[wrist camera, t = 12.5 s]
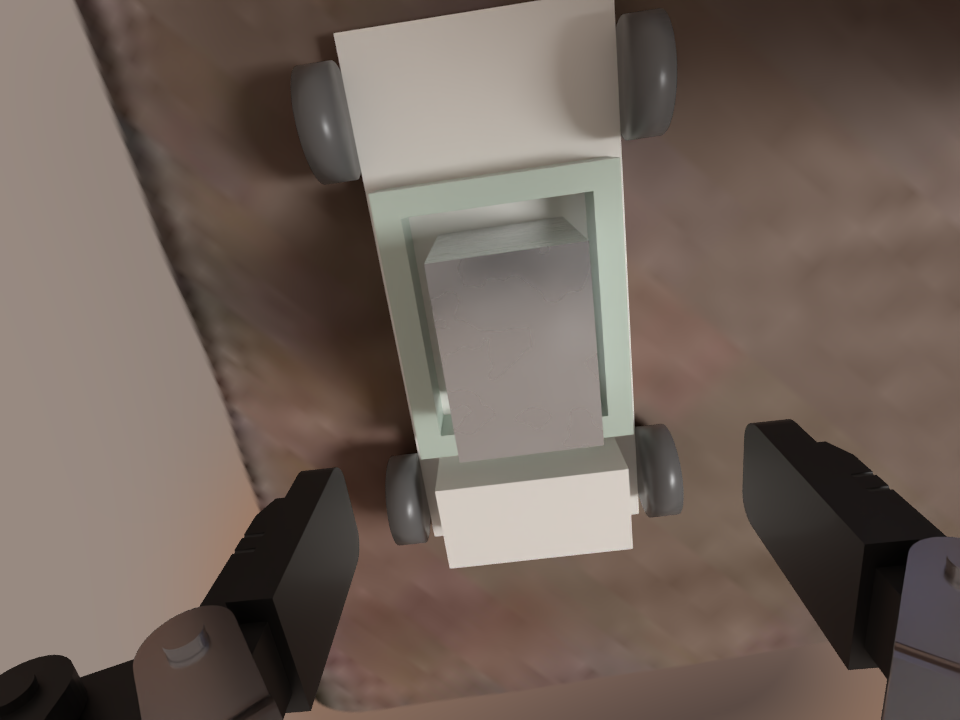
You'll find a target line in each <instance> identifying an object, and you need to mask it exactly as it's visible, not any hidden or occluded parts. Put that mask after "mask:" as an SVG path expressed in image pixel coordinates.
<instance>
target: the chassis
mask: <svg viewBox="0 0 960 720" xmlns="http://www.w3.org/2000/svg"><path fill="white" fill-rule="evenodd" d="M333 34H334V39H335V44H336V49H337V54H338V59H339V64H340V69H341V71H340V69H339V67H338V66H337V64H336V63H335V62H334V61H332V60H329V61H323V62H316V63H310V64H304V65H297V66H295V67H294V68H293V70H292V74H291V99H292V107H293V113H294V118H295V123H296V127H297V131H298V135H299V139H300V142H301V145H302V148H303V151H304V154H305V157H306V159H307V161H308V164H309V166H310V168H311V170H312V172H313V174H314V175H315V177H316V178H317V179H318V181H319V182H320V183H322V184H324V185H326V184H333V183H340V182H346V181H353V180H358V179H359V178H360V175H361V173H362V178H363V183H364V188H365V193H366V198H367V203H368V208H369V213H370V218H371V223H372V228H373V233H374V238H375V243H376V248H377V252H378V257H379V262H380V267H381V272H382V277H383V282H384V287H385V292H386V297H387V302H388V307H389V312H390V317H391V322H392V327H393V332H394V337H395V342H396V347H397V352H398V357H399V362H400V367H401V372H402V377H403V381H404V386H405V391H406V396H407V401H408V406H409V411H410V416H411V421H412V426H413V431H414V436H415V441H416V446H417V451H418V453H414V454H405V455H397V456H391V457H390V459H389V461H388V464H387V470H386V485H385V486H386V506H387V514H388V521H389V526H390V530H391V533H392V536H393V539H394V541H395V543H396V544H397V545H408V544H417V543H426V542H427V541H428V538H429V533H430V515H431V520H432V525H433V530H434V535H435V536H444V541H445V546H446V551H447V556H448V561H449V566H450V569H451V568H460V567H469V566H478V565H487V564H497V563H506V562H515V561H524V560H533V559H543V558H552V557H561V556H570V555H579V554H589V553H598V552H607V551H616V550H625V549H633V543H632V524H631V515H632V514H639V506H638V494H639V498H640V501H641V504H642V506H643V509H644V511H645V513H646V514H647V516H648V517H659V516H668V515H677V514H680V513H681V511H682V507H683V480H682V473H681V467H680V462H679V458H678V454H677V450H676V447H675V444H674V441H673V438H672V436H671V434H670V432H669V430H668V428H667V427H666V426H665V425H664V424H656V425H647V426H639V427H635V423H634V402H633V381H632V360H631V340H630V319H629V298H628V277H627V256H626V236H625V215H624V194H623V173H622V152H621V135H622V137H623V138H624V139H625V140H633V139H640V138H647V137H654V136H661V135H663V134H664V133H665V132H666V131H667V129H668V127H669V125H670V122H671V119H672V115H673V111H674V105H675V98H676V88H677V55H676V45H675V38H674V32H673V28H672V24H671V21H670V18H669V16H668V14H667V12H666V11H665V10H664V9H662V8H658V9H652V10H645V11H639V12H633V13H626V14H622V15H621V16H620V18H619V20H618V23H617V26H616V27H615V7H614V0H538V1H532V2H526V3H519V4H513V5H507V6H501V7H494V8H488V9H482V10H476V11H469V12H463V13H457V14H451V15H445V16H438V17H432V18H426V19H420V20H413V21H407V22H401V23H395V24H389V25H382V26H376V27H370V28H364V29H357V30H351V31H345V32H339V33H333ZM562 216H563V217H564V218H565V219H566V220H567V221H568V222H569V223H570V224H571V225H573V226H574V227H575V228H576V229H577V230H578V231H579V232H580V233H581V234H582V235H583V236H584V237H585V238H587V239H588V240H589V250H590V263H591V277H592V290H593V303H594V317H595V330H596V343H597V356H598V370H599V383H600V396H601V410H602V423H603V436H604V445H602V446H594V447H586V448H577V449H569V450H561V451H553V452H545V453H537V454H528V455H520V456H512V457H504V458H496V459H488V460H479V461H471V462H463V463H460V462H459V457H458V451H457V446H456V440H455V435H454V429H453V423H452V418H451V412H450V407H449V401H448V395H447V390H446V384H445V379H444V373H443V367H442V362H441V356H440V351H439V345H438V339H437V334H436V328H435V323H434V317H433V311H432V306H431V300H430V295H429V289H428V283H427V278H426V272H425V267H424V263H425V261H426V259H427V257H428V255H429V253H430V251H431V249H432V246H433V244H434V242H435V240H436V238H437V236H438V234H445V233H451V232H458V231H465V230H472V229H479V228H486V227H493V226H500V225H507V224H514V223H520V222H527V221H534V220H541V219H548V218H555V217H562Z"/></svg>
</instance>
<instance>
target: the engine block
mask: <svg viewBox="0 0 960 720" xmlns="http://www.w3.org/2000/svg"><path fill="white" fill-rule="evenodd" d="M424 267H425V272H426V278H427V283H428V289H429V295H430V300H431V306H432V311H433V317H434V323H435V328H436V334H437V339H438V345H439V351H440V356H441V362H442V367H443V373H444V379H445V384H446V390H447V395H448V401H449V407H450V412H451V418H452V423H453V429H454V435H455V440H456V446H457V451H458V457H459V462H460V463H463V462H471V461H479V460H488V459H496V458H504V457H512V456H520V455H528V454H537V453H545V452H553V451H561V450H569V449H577V448H586V447H594V446H602V445H604V436H603V423H602V410H601V396H600V383H599V370H598V356H597V343H596V330H595V317H594V303H593V290H592V277H591V263H590V250H589V240H588V239H587V238H585V237H584V236H583V235H582V234H581V233H580V232H579V231H578V230H577V229H576V228H575V227H574V226H573V225H571V224H570V223H569V222H568V221H567V220H566V219H565V218H564V217H563V216H562V217H555V218H548V219H541V220H534V221H527V222H520V223H514V224H507V225H500V226H493V227H486V228H479V229H472V230H465V231H458V232H451V233H445V234H438V236H437V238H436V240H435V242H434V244H433V246H432V249H431V251H430V253H429V255H428V257H427V259H426V261H425V263H424Z"/></svg>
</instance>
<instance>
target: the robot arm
mask: <svg viewBox="0 0 960 720" xmlns="http://www.w3.org/2000/svg"><path fill="white" fill-rule="evenodd" d="M742 492H743V503H744V507H745V511H746V514H747V517H748V520H749V522H750V524H751V525H752V527H753V529H754V530H755V532H756V533H757V535H758V536H759V538H760V539H761V540H762V542H763V543H764V545H765V546H766V548H767V549H768V551H769V552H770V554H771V555H772V557H773V558H774V560H775V561H776V563H777V564H778V566H779V567H780V569H781V570H782V572H783V573H784V575H785V576H786V578H787V579H788V581H789V582H790V584H791V585H792V587H793V588H794V590H795V591H796V593H797V594H798V596H799V597H800V599H801V600H802V602H803V603H804V605H805V606H806V608H807V609H808V611H809V612H810V614H811V615H812V617H813V618H814V620H815V621H816V623H817V624H818V626H819V627H820V629H821V630H822V632H823V633H824V635H825V636H826V638H827V639H828V641H829V642H830V644H831V645H832V646H833V648H834V649H835V651H836V652H837V654H838V655H839V657H840V658H841V660H842V661H843V663H844V664H845V666H846V667H847V669H848V670H853V669H866V668H879V669H880V670H881V671H882V672H883V674H884V675H885V677H886V678H887V684H886V691H885V697H884V703H883V709H882V716H881V720H960V538H955V537H947V536H945V535H944V534H943V533H942V532H941V531H940V530H939V529H937V528H936V527H935V526H934V525H933V524H932V523H931V522H929V521H928V520H927V519H926V518H925V517H924V516H923V515H921V514H920V513H919V512H918V511H917V510H916V509H915V508H913V507H912V506H911V505H910V504H909V503H908V502H907V501H906V500H904V499H903V498H902V497H901V496H900V495H899V494H898V493H896V492H895V491H894V490H890V489H889V486H888V485H887V484H886V483H885V482H884V481H883V480H882V479H880V478H879V477H878V476H877V475H873V472H872V471H871V470H870V469H869V468H868V467H867V466H866V465H865V464H863V463H862V462H861V461H860V460H859V459H858V458H857V457H855V456H854V455H853V454H851V453H849V452H847V451H844V450H842V449H840V448H838V447H836V446H834V445H832V444H830V443H828V442H816V441H815V440H814V439H813V438H812V437H811V436H810V435H808V434H807V433H806V432H805V431H804V430H803V429H802V428H801V427H800V426H799V425H798V424H797V423H796V422H794V421H793V420H791V419H786V420H776V421H767V422H758V423H750V424H748V425H747V427H746V430H745V436H744V462H743V490H742ZM244 535H245V537H244V538H242V539H241V541H240V542H239V544H238V545H237V547H236V549H235V554H232V555H231V557H230V558H229V560H228V562H227V563H226V565H225V566H224V568H223V570H222V571H221V573H220V574H219V576H218V578H217V579H216V581H215V582H214V584H213V586H212V587H211V589H210V591H209V592H208V594H207V595H206V597H205V599H204V600H203V602H202V603H201V605H200V607H198V608H193V609H191V610H188V611H185V612H183V613H181V614H179V615H177V616H175V617H173V618H171V619H169V620H168V621H167V622H165V623H164V624H162V625H161V626H160V627H158V628H157V629H156V630H155V631H153V632H152V633H151V634H150V636H148V637H147V638H146V640H145V641H144V642H143V643H142V645H141V646H140V648H139V649H138V651H137V653H136V656H135V658H134V659H133V660H130V661H127V662H125V663H122V664H119V665H116V666H113V667H110V668H107V669H104V670H101V671H98V672H95V673H92V674H89V675H86V676H83V677H79V675H78V673H77V671H76V669H75V667H74V666H73V664H72V662H71V660H70V659H68V658H67V657H64V656H61V655H48V656H43V657H38V658H35V659H32V660H29V661H27V662H24V663H22V664H19V665H17V666H16V667H13V668H11V669H9V670H8V671H6V672H4V673H3V674H1V675H0V720H283V718H284V716H285V713H291V712H303V711H311V709H312V705H313V702H314V699H315V696H316V693H317V690H318V686H319V683H320V680H321V677H322V674H323V670H324V667H325V664H326V661H327V658H328V655H329V651H330V648H331V645H332V642H333V639H334V635H335V632H336V629H337V626H338V623H339V620H340V616H341V613H342V610H343V607H344V604H345V600H346V597H347V594H348V591H349V588H350V585H351V581H352V578H353V575H354V572H355V569H356V565H357V562H358V557H359V535H358V530H357V526H356V522H355V518H354V514H353V510H352V506H351V502H350V498H349V495H348V491H347V487H346V483H345V479H344V476H343V473H342V471H341V470H340V469H339V468H337V467H336V468H326V469H317V470H308V471H301V472H300V473H299V474H298V476H297V477H296V479H295V481H294V483H293V484H292V486H291V488H290V490H289V491H288V493H287V495H286V497H285V498H277V499H275V500H274V501H273V502H271V503H270V504H269V505H268V506H267V507H266V508H264V509H263V510H262V511H261V512H260V513H259V514H257V515H256V516H255V518H254V520H253V521H252V523H251V524H250V526H249V528H248V529H247V531H246V533H245V534H244Z"/></svg>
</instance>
